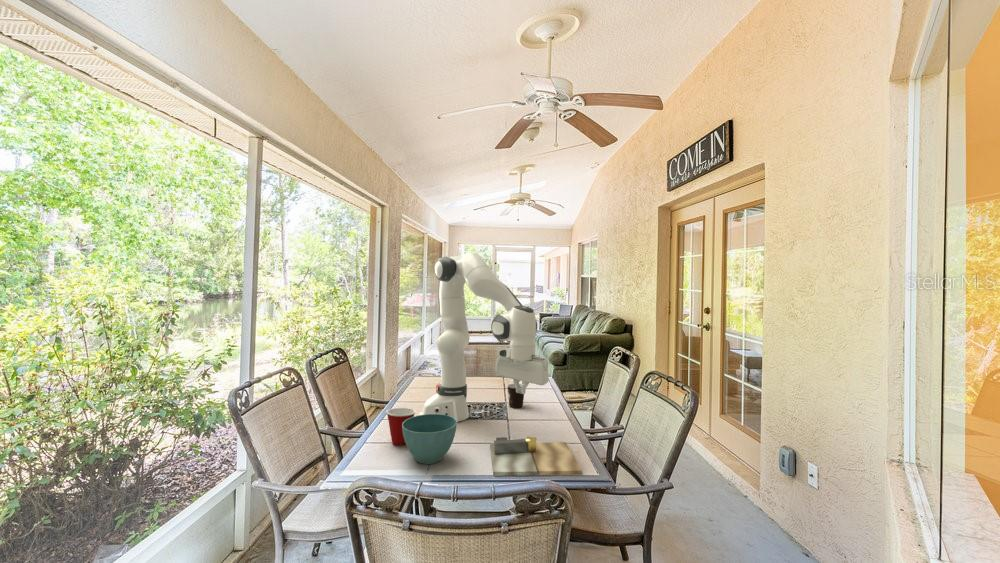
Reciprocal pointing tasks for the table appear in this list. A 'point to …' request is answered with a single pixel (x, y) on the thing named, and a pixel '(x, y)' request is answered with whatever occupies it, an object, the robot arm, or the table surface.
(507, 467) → the door board
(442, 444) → the plant pot
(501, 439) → the block
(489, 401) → the table surface
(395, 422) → the plastic cup
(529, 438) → the latch bar
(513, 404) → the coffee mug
